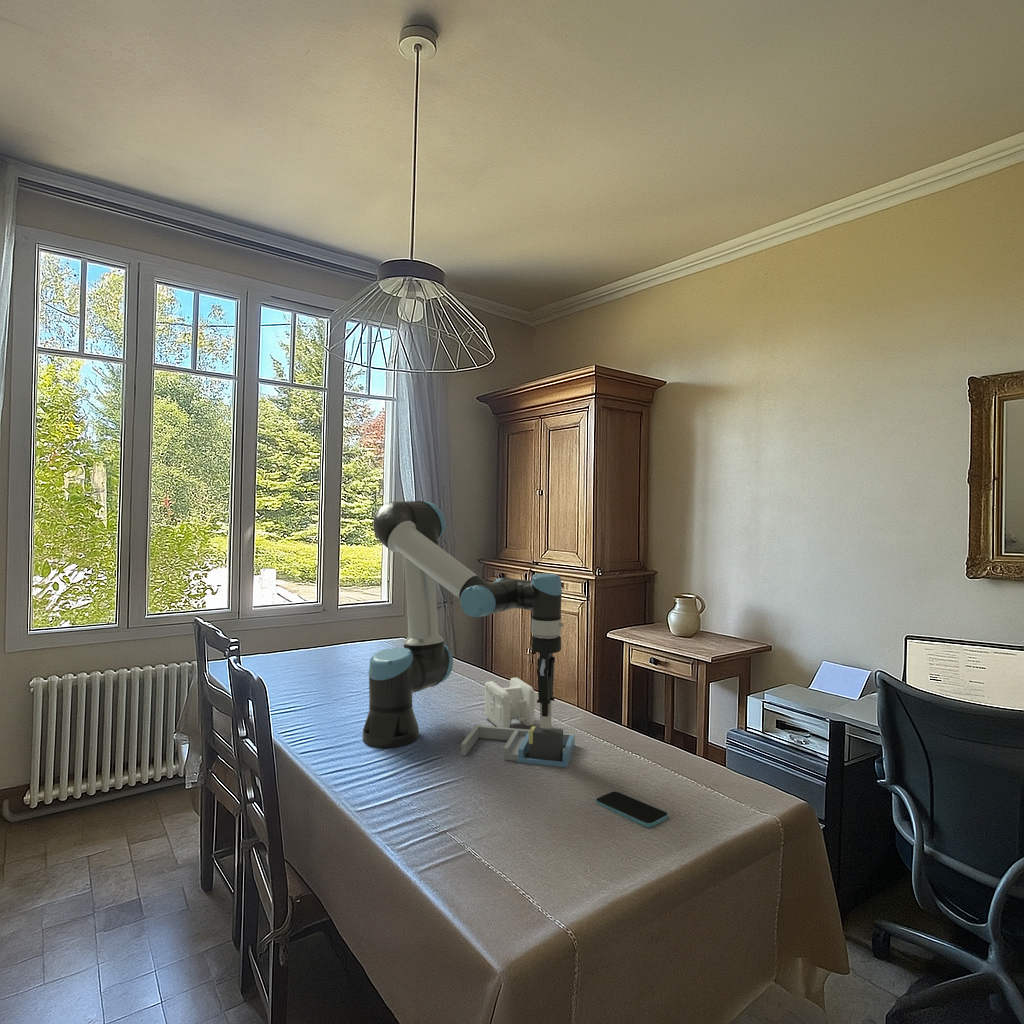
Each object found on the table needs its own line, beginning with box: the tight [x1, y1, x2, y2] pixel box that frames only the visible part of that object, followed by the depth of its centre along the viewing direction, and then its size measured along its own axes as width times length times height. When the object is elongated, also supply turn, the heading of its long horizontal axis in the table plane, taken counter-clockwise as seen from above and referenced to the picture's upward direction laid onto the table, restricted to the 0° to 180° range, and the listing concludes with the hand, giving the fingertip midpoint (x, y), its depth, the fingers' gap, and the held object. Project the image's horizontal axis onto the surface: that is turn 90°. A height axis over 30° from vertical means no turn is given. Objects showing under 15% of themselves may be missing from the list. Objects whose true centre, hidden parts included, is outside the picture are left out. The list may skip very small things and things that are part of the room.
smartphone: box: [595, 790, 669, 828], centre depth 138 cm, size 7×1×15 cm
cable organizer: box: [484, 676, 536, 728], centre depth 188 cm, size 15×11×12 cm
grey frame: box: [460, 724, 576, 768], centre depth 169 cm, size 27×14×3 cm, turn 77°
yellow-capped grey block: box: [528, 725, 564, 761], centre depth 164 cm, size 8×4×7 cm, turn 77°
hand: (545, 727), depth 164 cm, fingers closed
